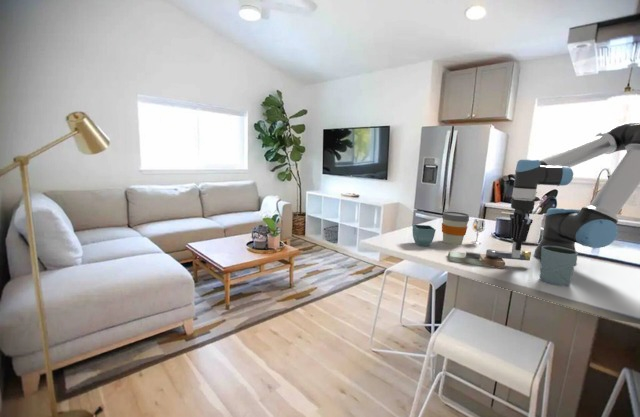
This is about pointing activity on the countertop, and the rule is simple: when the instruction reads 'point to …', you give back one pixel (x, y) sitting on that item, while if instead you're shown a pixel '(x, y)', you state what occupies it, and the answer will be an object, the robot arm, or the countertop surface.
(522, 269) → the countertop surface
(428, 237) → the flower pot
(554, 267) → the grey green cup
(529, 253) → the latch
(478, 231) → the wineglass
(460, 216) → the reusable coffee cup
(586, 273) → the countertop surface
